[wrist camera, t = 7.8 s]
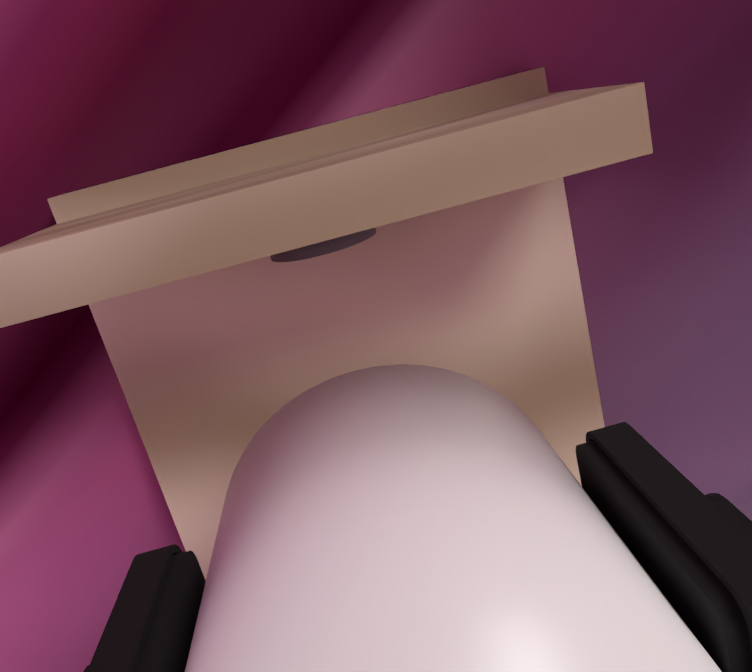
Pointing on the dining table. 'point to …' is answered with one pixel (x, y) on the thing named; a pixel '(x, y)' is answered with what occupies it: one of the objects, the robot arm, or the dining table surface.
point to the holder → (338, 270)
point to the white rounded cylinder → (422, 544)
